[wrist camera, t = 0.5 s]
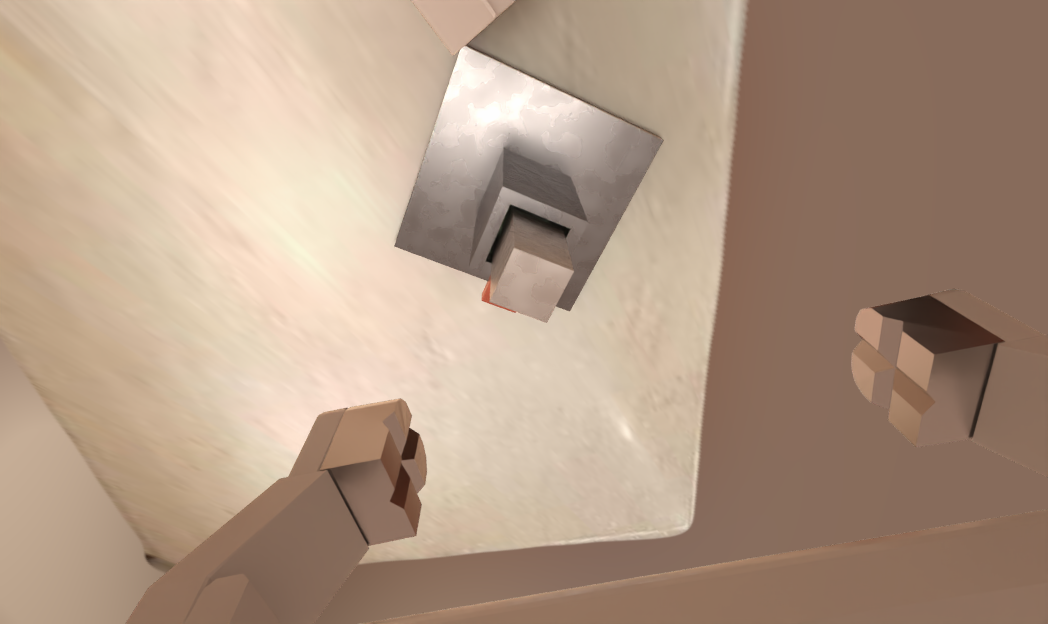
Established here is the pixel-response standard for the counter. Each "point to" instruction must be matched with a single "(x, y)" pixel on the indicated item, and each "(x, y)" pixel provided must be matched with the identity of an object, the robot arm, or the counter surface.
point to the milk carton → (460, 18)
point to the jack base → (520, 170)
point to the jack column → (529, 264)
